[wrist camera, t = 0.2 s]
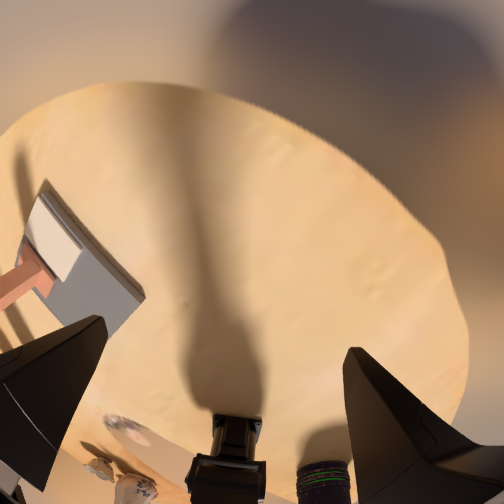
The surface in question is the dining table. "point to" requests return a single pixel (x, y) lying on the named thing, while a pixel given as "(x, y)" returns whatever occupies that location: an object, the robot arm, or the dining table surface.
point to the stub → (25, 278)
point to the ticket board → (76, 269)
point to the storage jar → (324, 483)
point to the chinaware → (124, 483)
